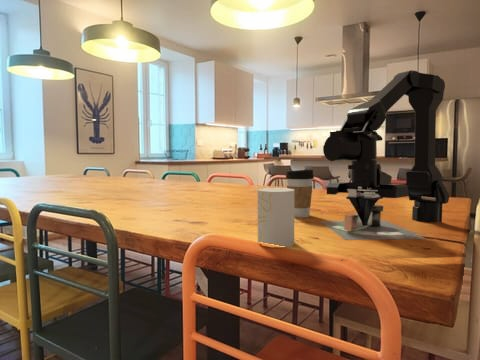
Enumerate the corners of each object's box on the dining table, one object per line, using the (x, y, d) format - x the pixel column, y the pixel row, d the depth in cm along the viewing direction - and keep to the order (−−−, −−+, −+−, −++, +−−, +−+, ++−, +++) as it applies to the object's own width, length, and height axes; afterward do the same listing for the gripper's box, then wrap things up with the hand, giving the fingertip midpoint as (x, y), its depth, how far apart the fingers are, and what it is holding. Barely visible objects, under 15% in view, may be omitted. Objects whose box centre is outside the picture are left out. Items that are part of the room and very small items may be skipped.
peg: (368, 222, 93) (369, 203, 92) (386, 225, 89) (386, 205, 89) (338, 231, 83) (339, 210, 83) (356, 234, 80) (357, 212, 79)
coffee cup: (313, 221, 100) (314, 170, 99) (284, 220, 102) (284, 170, 101) (313, 216, 108) (313, 168, 107) (286, 215, 110) (286, 168, 109)
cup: (255, 239, 80) (255, 188, 80) (289, 238, 81) (289, 187, 80) (260, 248, 72) (260, 192, 71) (298, 247, 73) (298, 191, 72)
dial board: (385, 224, 96) (385, 219, 96) (426, 242, 76) (426, 237, 76) (321, 225, 95) (321, 220, 95) (345, 244, 75) (345, 238, 75)
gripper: (420, 158, 79) (421, 226, 79) (351, 160, 94) (352, 217, 94) (393, 159, 72) (394, 232, 73) (324, 161, 87) (325, 222, 88)
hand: (365, 225), depth 82 cm, fingers closed
